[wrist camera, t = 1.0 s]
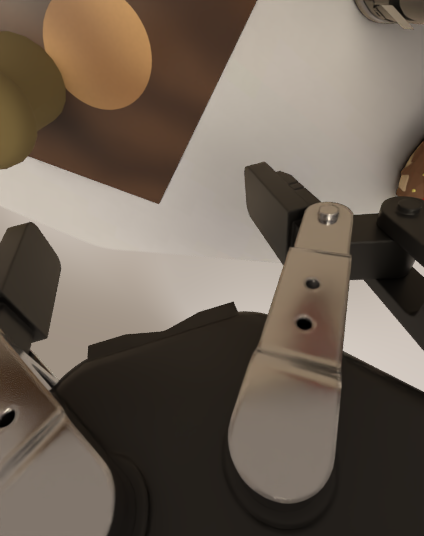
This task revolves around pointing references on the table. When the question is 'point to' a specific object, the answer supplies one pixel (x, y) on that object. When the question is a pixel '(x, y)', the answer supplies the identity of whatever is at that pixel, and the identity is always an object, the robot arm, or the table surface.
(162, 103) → the placemat
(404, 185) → the donut
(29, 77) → the pepper shaker
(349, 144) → the table surface
